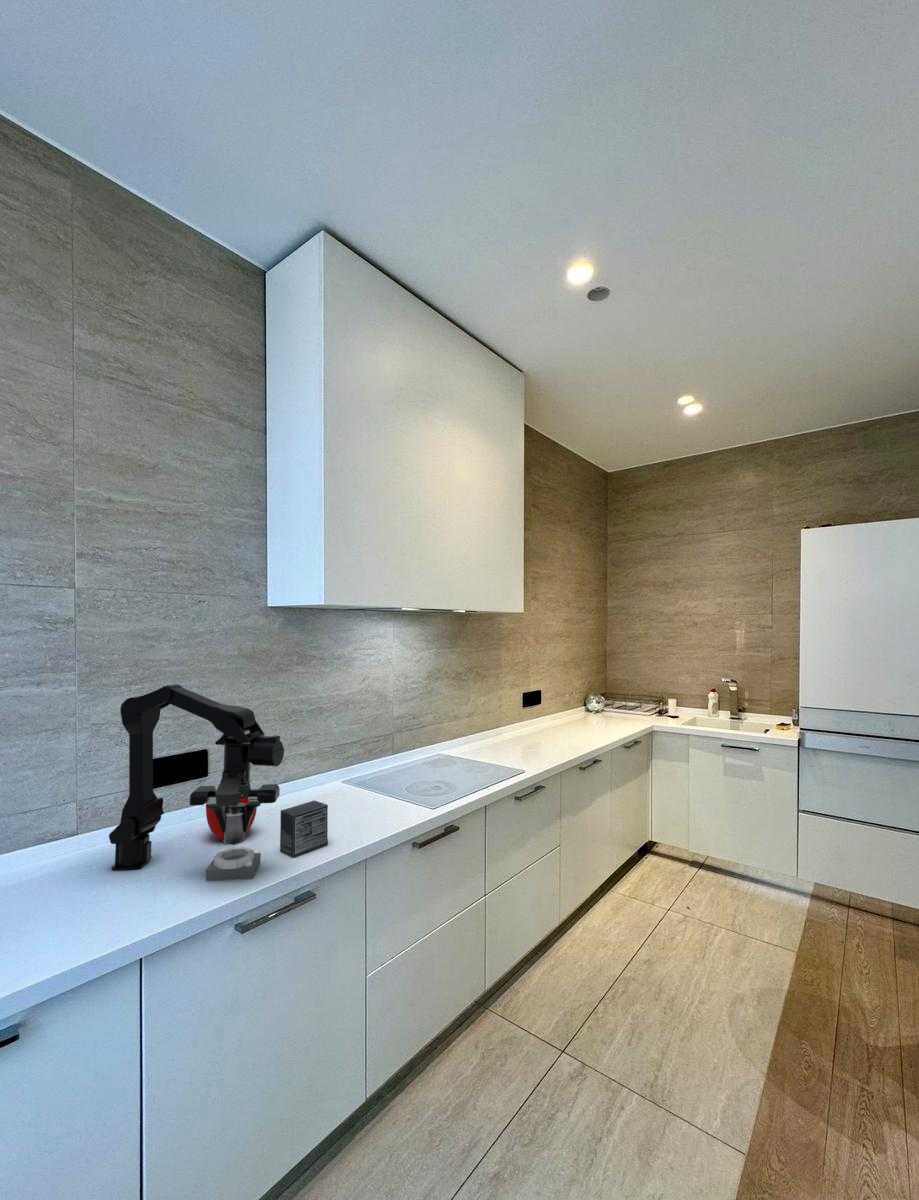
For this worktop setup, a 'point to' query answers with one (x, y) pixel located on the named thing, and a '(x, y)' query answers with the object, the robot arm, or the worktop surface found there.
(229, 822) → the lens
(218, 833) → the ceramic cup
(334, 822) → the worktop surface
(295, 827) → the small box
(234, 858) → the camera body mount
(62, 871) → the worktop surface
